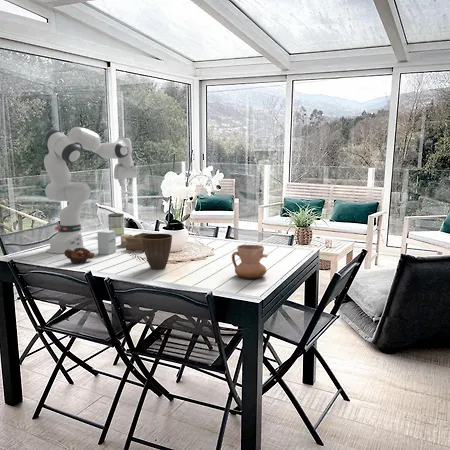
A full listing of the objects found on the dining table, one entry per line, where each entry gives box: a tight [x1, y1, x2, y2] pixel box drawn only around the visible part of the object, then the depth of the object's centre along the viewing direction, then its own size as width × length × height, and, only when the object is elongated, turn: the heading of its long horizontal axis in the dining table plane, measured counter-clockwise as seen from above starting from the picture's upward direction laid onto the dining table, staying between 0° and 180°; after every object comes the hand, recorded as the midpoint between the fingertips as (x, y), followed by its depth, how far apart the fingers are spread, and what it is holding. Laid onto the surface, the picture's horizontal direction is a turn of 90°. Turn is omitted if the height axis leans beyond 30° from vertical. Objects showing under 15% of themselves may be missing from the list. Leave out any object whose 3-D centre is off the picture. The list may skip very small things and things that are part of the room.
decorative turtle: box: [63, 247, 95, 265], centre depth 234 cm, size 10×15×8 cm, turn 130°
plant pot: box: [142, 233, 173, 271], centre depth 223 cm, size 15×15×16 cm
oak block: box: [120, 233, 133, 246], centre depth 274 cm, size 5×5×6 cm
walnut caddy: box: [125, 232, 153, 252], centre depth 269 cm, size 18×14×7 cm
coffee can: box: [107, 212, 125, 237], centre depth 309 cm, size 10×10×14 cm
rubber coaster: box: [116, 243, 126, 249], centre depth 274 cm, size 9×9×1 cm
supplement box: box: [96, 229, 117, 256], centre depth 255 cm, size 7×7×13 cm
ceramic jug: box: [231, 244, 269, 280], centre depth 208 cm, size 18×14×14 cm
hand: (126, 185), depth 286 cm, fingers open, 8 cm apart
